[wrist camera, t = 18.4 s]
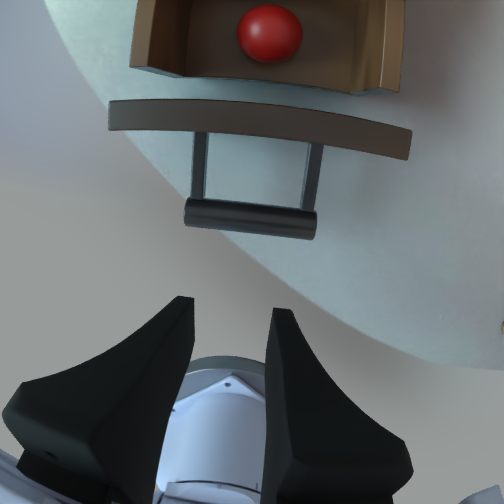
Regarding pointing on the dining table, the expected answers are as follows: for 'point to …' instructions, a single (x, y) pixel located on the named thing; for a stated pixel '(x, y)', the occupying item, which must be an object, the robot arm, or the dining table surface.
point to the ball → (269, 33)
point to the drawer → (286, 72)
